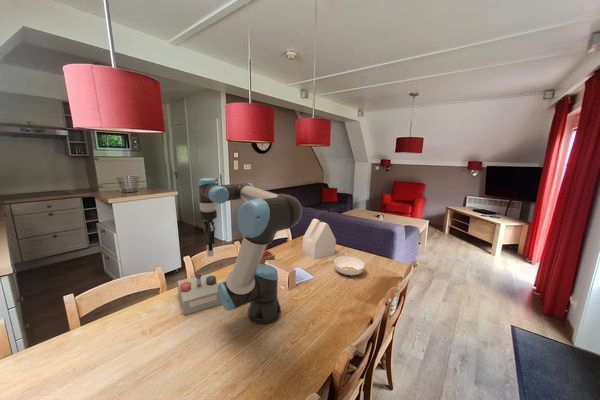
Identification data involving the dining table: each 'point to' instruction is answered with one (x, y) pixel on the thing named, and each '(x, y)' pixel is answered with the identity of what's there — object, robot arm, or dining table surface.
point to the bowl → (349, 265)
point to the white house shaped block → (319, 240)
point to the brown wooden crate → (267, 257)
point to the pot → (198, 280)
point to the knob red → (185, 286)
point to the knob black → (210, 280)
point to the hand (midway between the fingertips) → (210, 255)
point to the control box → (198, 295)
